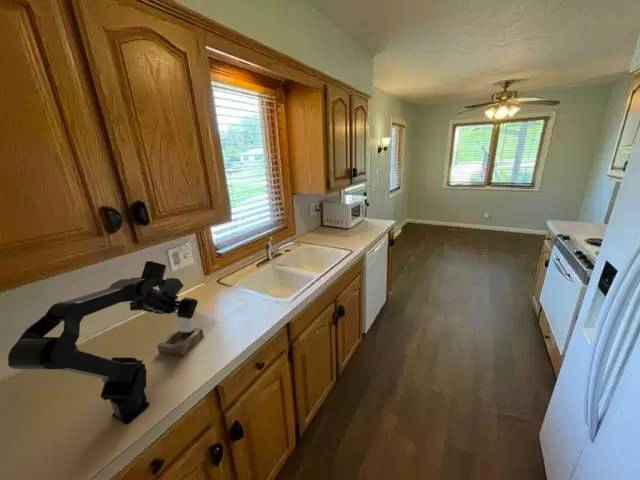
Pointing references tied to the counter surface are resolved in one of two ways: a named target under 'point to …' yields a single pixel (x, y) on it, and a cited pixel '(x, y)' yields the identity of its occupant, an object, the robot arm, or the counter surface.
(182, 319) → the eye dropper bottle
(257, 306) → the counter surface
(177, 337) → the socket block
